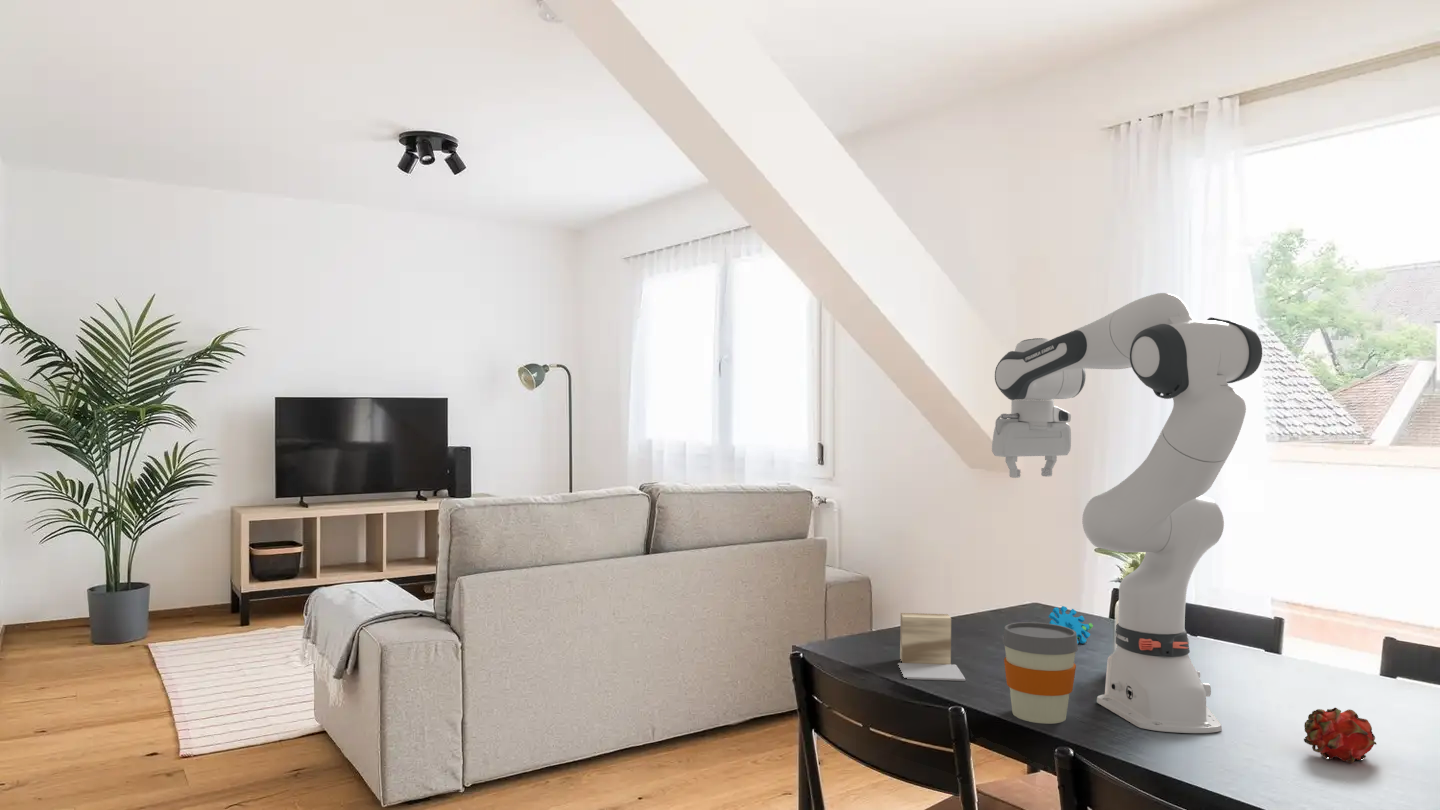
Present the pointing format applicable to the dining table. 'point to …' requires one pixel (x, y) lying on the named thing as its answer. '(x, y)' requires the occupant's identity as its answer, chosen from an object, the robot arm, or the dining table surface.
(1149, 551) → the robot arm
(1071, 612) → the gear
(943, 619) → the birch slab
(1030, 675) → the reusable coffee cup
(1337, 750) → the dragon fruit
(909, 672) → the mat
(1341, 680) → the dining table surface
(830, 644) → the dining table surface
